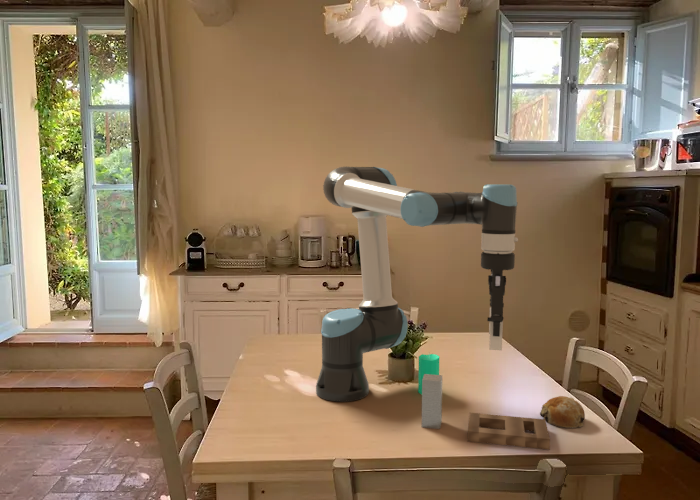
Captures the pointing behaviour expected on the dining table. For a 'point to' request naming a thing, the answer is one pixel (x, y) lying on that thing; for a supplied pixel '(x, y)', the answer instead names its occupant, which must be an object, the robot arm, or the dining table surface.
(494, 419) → the socket block
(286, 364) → the dining table surface
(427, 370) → the candle
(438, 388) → the square bit
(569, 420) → the bread roll
